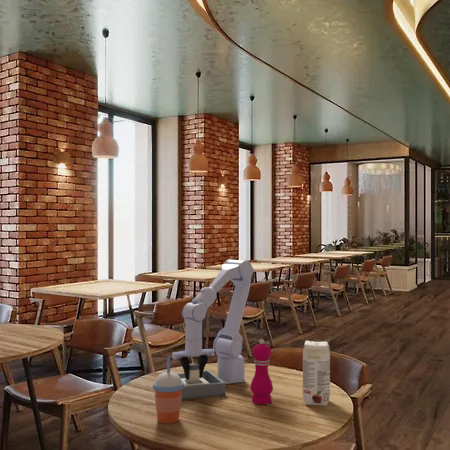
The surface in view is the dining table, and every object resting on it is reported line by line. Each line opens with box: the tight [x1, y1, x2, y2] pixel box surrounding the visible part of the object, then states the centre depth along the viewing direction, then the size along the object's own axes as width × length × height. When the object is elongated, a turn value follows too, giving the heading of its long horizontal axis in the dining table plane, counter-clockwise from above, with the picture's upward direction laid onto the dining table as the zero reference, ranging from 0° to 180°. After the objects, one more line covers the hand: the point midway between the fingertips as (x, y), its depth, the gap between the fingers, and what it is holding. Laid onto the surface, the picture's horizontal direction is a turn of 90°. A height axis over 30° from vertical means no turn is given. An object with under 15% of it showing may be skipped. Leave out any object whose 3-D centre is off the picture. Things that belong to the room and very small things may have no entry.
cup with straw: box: [152, 356, 184, 425], centre depth 147 cm, size 9×9×18 cm
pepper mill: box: [250, 338, 274, 406], centre depth 162 cm, size 7×7×20 cm
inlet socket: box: [181, 378, 209, 387], centre depth 173 cm, size 8×8×3 cm
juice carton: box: [302, 340, 331, 407], centre depth 162 cm, size 8×9×19 cm
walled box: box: [176, 369, 226, 402], centre depth 173 cm, size 17×16×4 cm
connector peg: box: [188, 362, 200, 384], centre depth 173 cm, size 4×4×6 cm
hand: (193, 378), depth 173 cm, fingers closed on connector peg, 4 cm apart
